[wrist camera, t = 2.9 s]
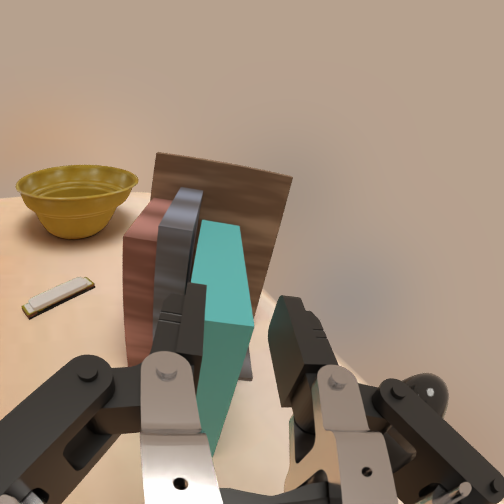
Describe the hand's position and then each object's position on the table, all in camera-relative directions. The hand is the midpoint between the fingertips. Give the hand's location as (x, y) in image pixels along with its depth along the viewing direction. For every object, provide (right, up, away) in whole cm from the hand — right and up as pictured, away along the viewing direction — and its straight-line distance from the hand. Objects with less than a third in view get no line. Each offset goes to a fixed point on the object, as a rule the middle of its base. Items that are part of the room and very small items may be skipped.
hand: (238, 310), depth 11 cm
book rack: (-8, -12, +29) cm, 32 cm away
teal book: (-6, -16, +21) cm, 27 cm away
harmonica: (-32, -6, +29) cm, 44 cm away
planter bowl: (-44, +8, +52) cm, 69 cm away
